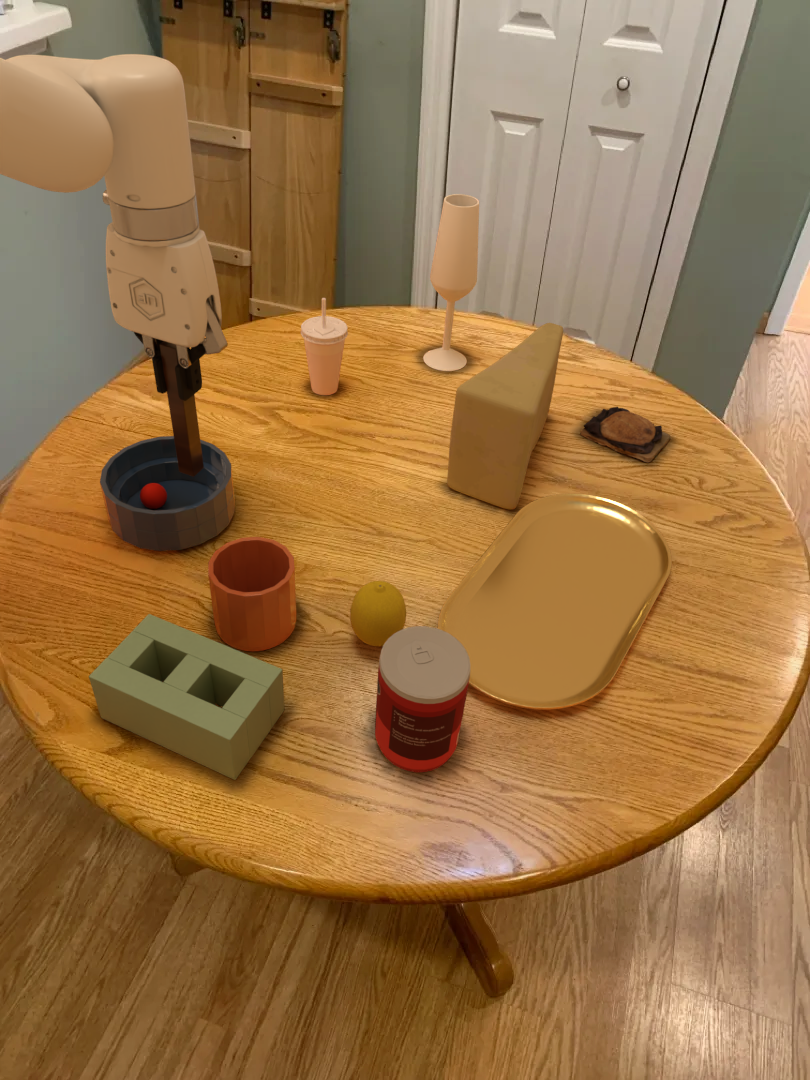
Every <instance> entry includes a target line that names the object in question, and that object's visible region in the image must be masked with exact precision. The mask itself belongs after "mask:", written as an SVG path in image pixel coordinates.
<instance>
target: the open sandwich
mask: <svg viewBox="0 0 810 1080" xmlns="http://www.w3.org/2000/svg"><path fill="white" fill-rule="evenodd" d="M579 435H580V436H582V437H583V438H587V440H589V441H593V442H596V443H598V445H600V446H607V447H608V448H610V449H611V450H614V452H618V453H621V454H624V455H627V456H628V457H633V458H636V459H637V460H640V461H643V462H644V463H647V464H648V463H651V462H652V461H653V459H654V458H655V457H656V456H657V455H658V454H659V453H660V451H661V450H662V449H663V448H664V447H665V446H666V445H667V444H668V442H669V441H670V440H671V435H670V434H669V433H667V432H664V431H663V427H662V425H655V423H653V422H652V421H650V420H649V419H648V418H646V417H644V416H642V415H640V414H637V413H634V412H632V411H630V410H628V409H626V408H623V407H619V406H613V407H610V408H608V409H605V408H603V409H602V410H601V411H600V412H598V414H597V415H596V416H592V417H591V419H589V421H587V422H585V424H584V425H583V428H582V429H581V430H580V434H579Z"/></svg>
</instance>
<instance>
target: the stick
mask: <svg viewBox="0 0 810 1080" xmlns="http://www.w3.org/2000/svg"><path fill="white" fill-rule="evenodd" d="M160 351H161V357H162V363H163V369H164V376H165V382H166V389H167V392H166V395H167V402H168V408H169V415H170V421H171V427H172V436H174V441H175V448H176V454H177V461H178V467H179V472H181V473H184V474H187V475H190V476H193V477H194V476H195V475H196V474H197V473H199V472H200V471H201V470H202V469H203V468H204V465H203V457H202V449H201V442H200V439H201V435H200V428H199V420H198V418H199V417H198V412H197V411H198V410H197V404H196V397H195V396H196V395H195V394H194V395H193V396H192V397H190V398H189V399H188V400H187V401H184V400H181V399H180V398H179V395H178V388H177V381H176V374H175V367H176V365H178V364H179V361H178V354H177V347H176V344H172V343H169V342H166V341H164V342H162V343H161V344H160Z"/></svg>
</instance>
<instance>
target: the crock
mask: <svg viewBox="0 0 810 1080" xmlns="http://www.w3.org/2000/svg"><path fill="white" fill-rule="evenodd" d="M207 575H208V583H209V591H210V599H211V606H212V613H213V621H214V627H215V631H216V633H217V635H218V637H220V639H221V640H222V641H223V642H224V644H227V646H229V647H230V648H233V649H235V650H238V651H244V652H262V651H267V650H271V649H273V648H276V647H277V646H279V645H281V644H283V643H284V642H285V641H287V640H288V639H289V638H290V636H291V635H292V634H293V632H294V631H295V628H296V624H297V595H296V594H297V593H296V568H295V557H294V555H293V554H292V553H291V551H290V550H289V549H288V547H287V546H285V545H284V544H282V543H280V542H279V541H277V540H275V539H271V538H266V537H262V536H246V537H245V536H244V537H240V538H237V539H234V540H231V541H228V542H225V544H223V545H222V546H220V547H219V548H217V549H216V550H215V551H214V552H213V553H212V555H211V557H210V559H209V560H208V562H207Z"/></svg>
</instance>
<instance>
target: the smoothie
mask: <svg viewBox="0 0 810 1080" xmlns="http://www.w3.org/2000/svg"><path fill="white" fill-rule="evenodd" d="M348 328H349V327H348V325H347V323H346V322H345V321H344V320H342V319H340V318H338V317H333V316H329V315H327V298H326V297H322V298H321V315H318V316H313V317H309V318H307V319H305V320H304V321H303V322H302V323H301V325H300V335H301V337H302V338H303V342H304V349H305V353H306V361H307V362H306V363H307V368H308V374H309V381H310V387H311V391H312V392H313V393H314V394H316V395H320V396H330V395H333V394H336V393H337V391H338V388H339V381H340V375H341V368H342V361H343V354H344V348H345V341H346V339H347V338H348V335H349V331H348Z"/></svg>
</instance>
